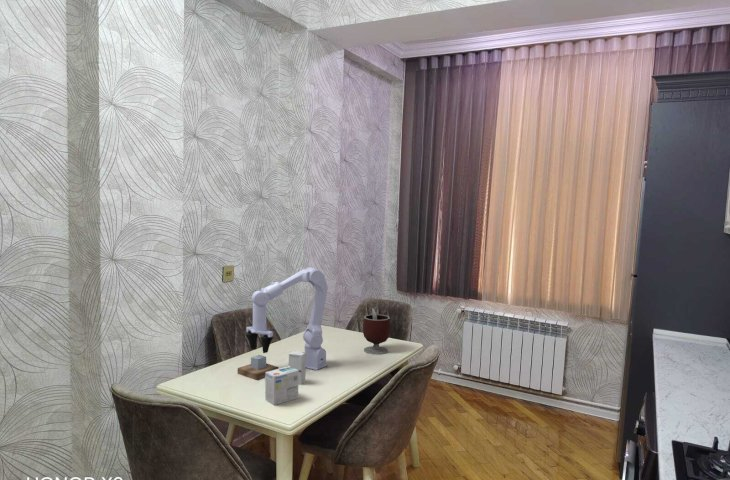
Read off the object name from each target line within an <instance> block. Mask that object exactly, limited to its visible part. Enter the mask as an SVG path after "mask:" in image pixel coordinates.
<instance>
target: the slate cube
mask: <svg viewBox="0 0 730 480" xmlns="http://www.w3.org/2000/svg"><path fill="white" fill-rule="evenodd" d="M266 363H267V356H265V355H261V354H258V355H254V356H251V357H250V364H251V368H254V369H257V370H259V369H262V368H265V367H266Z"/></svg>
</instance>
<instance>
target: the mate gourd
mask: <svg viewBox="0 0 730 480" xmlns="http://www.w3.org/2000/svg"><path fill="white" fill-rule="evenodd" d="M371 310H372V312H371V313H372V314H367V315H364V317H363V320H362V321H363V322H362V332H363V333H362V335H363V337H364V338H365V340H366V341H367V342H368V343H370V344H372V345H371V346H367V347H364V349H363V352H364V353H366V354H369V355H376V356H377V355H378V356H379V355H385V354H386V355H387V354H388V353H389V348H387V347H384V346H380V344H383V343H385V342H387V340H388V339H389V338H390V336H391V335H390V334H391V318H390V316H388V315H385V314H378V313H377V312H376V310H375V309H374V307H372V308H371Z"/></svg>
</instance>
